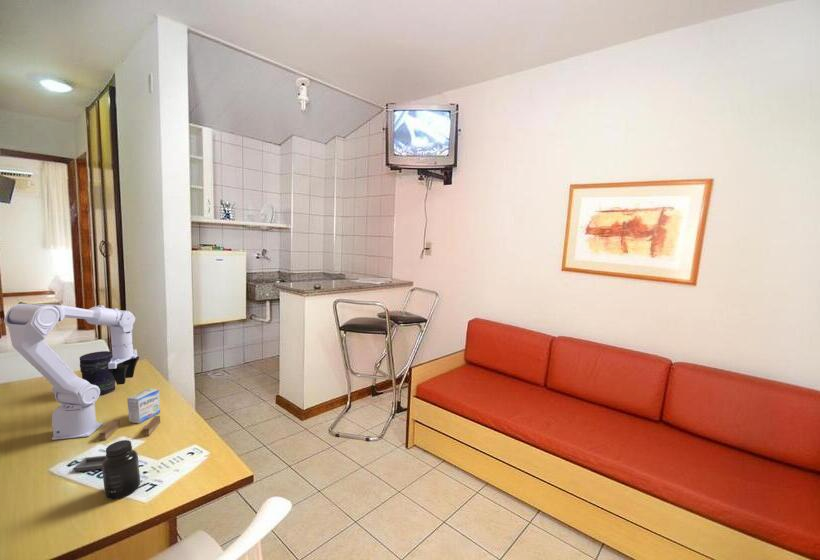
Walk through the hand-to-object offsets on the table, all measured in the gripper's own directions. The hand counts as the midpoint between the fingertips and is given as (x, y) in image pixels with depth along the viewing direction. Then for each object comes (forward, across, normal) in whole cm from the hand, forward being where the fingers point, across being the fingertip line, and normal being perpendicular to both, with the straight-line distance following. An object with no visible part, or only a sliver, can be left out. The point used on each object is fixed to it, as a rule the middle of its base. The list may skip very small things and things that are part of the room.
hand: (125, 380), depth 125 cm
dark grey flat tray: (+10, -34, -9) cm, 37 cm away
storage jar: (+11, +17, +17) cm, 26 cm away
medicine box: (+11, -8, -9) cm, 16 cm away
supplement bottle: (+10, -46, -20) cm, 51 cm away
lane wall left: (+10, -17, -3) cm, 20 cm away
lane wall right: (+10, -17, -15) cm, 25 cm away
